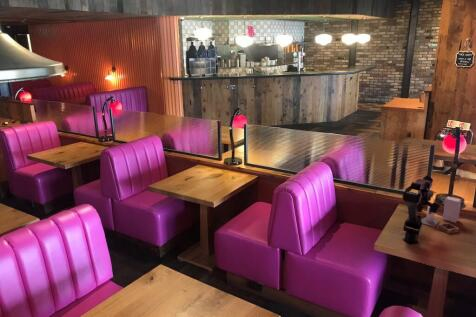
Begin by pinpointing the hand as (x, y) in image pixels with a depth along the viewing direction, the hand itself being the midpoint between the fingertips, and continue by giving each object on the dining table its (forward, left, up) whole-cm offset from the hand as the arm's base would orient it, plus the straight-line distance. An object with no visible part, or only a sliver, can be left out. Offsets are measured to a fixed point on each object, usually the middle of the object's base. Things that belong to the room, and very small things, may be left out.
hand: (423, 210), depth 247 cm
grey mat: (+10, +3, -11) cm, 15 cm away
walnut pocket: (+13, -9, -11) cm, 19 cm away
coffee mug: (+16, +20, -11) cm, 27 cm away
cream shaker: (+10, +3, -10) cm, 15 cm away
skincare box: (+26, +2, -11) cm, 28 cm away
